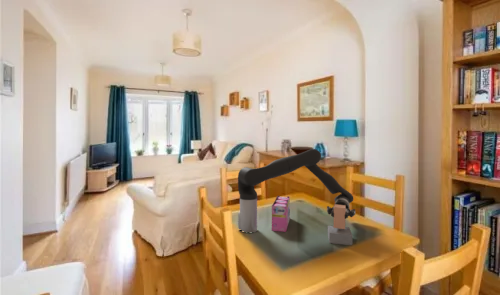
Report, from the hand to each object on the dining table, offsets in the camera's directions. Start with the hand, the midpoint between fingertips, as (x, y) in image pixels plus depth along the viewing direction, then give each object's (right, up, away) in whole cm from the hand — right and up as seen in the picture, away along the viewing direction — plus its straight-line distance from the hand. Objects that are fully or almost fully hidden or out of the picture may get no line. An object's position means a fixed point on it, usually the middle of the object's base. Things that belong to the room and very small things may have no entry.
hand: (339, 215), depth 116 cm
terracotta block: (+1, -6, +3) cm, 7 cm away
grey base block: (+1, -13, +3) cm, 13 cm away
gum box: (-24, -12, +25) cm, 36 cm away
